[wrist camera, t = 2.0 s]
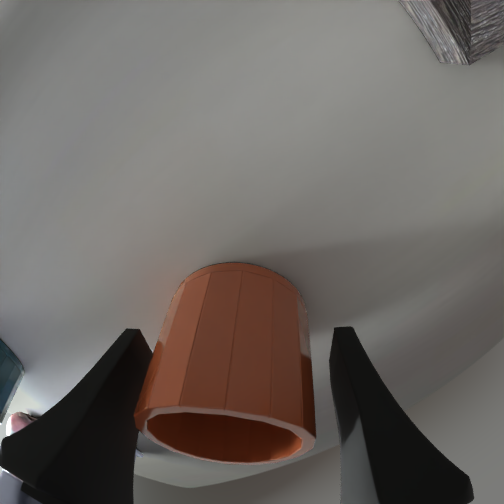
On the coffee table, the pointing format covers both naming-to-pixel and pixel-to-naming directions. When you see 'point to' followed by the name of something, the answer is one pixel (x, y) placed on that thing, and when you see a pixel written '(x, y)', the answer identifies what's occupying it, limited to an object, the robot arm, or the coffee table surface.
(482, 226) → the coffee table surface
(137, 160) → the coffee table surface
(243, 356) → the cup
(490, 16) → the picture frame
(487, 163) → the coffee table surface
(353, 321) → the coffee table surface
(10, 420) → the onion
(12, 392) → the base cup
